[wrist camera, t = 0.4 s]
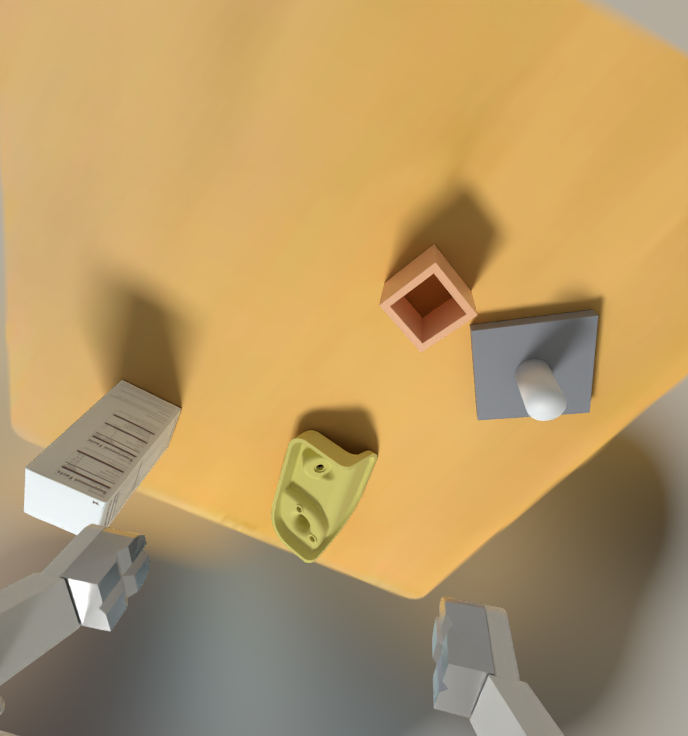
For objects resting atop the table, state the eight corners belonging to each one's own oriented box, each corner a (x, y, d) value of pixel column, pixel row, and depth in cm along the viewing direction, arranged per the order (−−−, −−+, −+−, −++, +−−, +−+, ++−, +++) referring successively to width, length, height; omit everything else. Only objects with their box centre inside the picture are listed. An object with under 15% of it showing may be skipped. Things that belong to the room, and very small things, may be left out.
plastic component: (292, 431, 54) (353, 474, 50) (324, 410, 60) (381, 448, 56) (265, 528, 64) (315, 571, 60) (296, 502, 70) (343, 540, 66)
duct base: (470, 324, 45) (477, 359, 38) (592, 309, 42) (623, 344, 35) (476, 412, 51) (484, 455, 44) (585, 404, 48) (609, 449, 41)
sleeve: (384, 283, 44) (379, 305, 39) (433, 243, 41) (435, 262, 36) (421, 325, 46) (421, 352, 41) (471, 291, 43) (477, 315, 38)
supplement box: (121, 377, 57) (22, 464, 43) (183, 407, 58) (106, 502, 44) (111, 422, 62) (20, 513, 48) (168, 448, 63) (95, 545, 49)
